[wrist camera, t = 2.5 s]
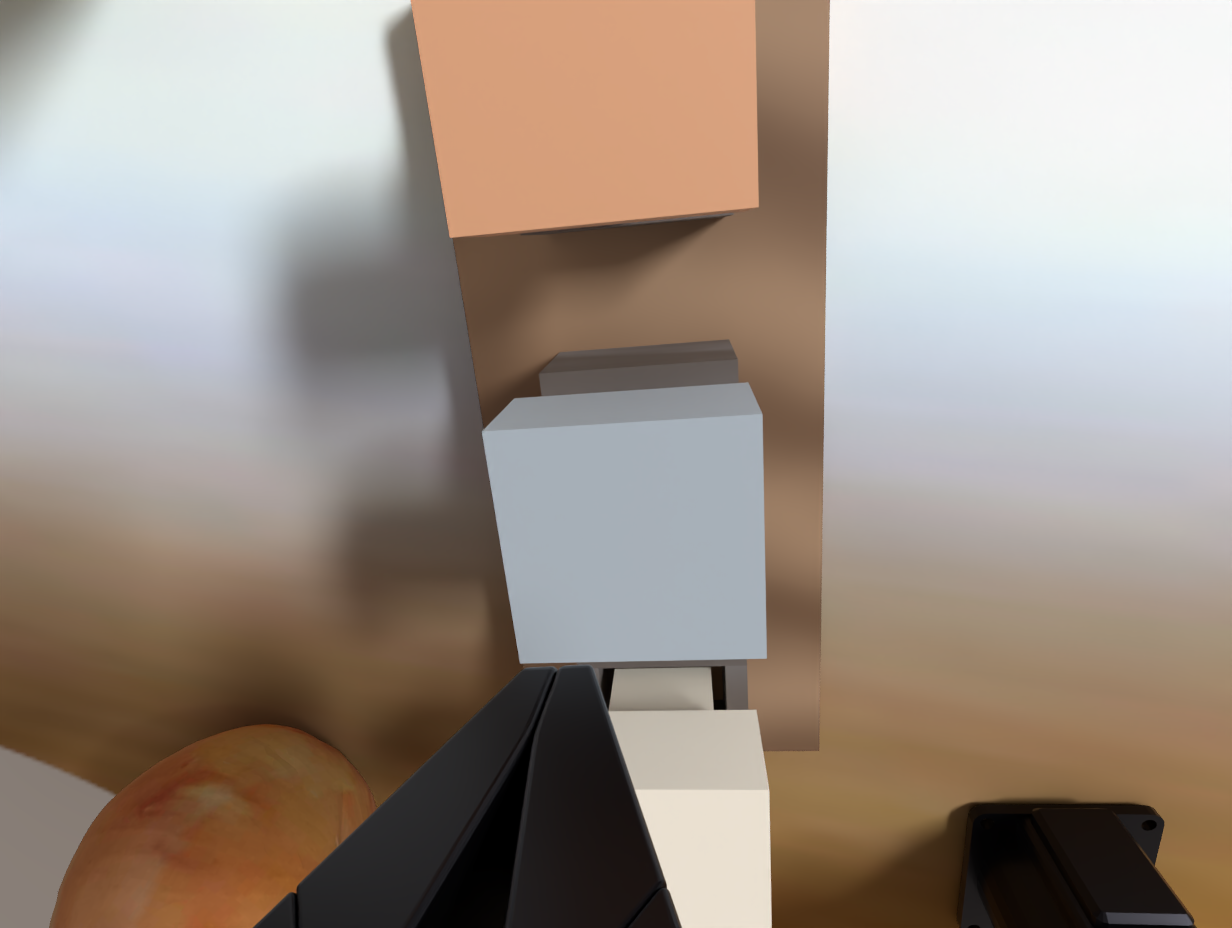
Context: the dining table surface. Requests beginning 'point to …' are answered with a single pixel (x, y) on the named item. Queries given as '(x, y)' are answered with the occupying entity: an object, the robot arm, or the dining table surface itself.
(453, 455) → the dining table surface
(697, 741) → the cream button
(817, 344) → the walnut button board
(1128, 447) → the dining table surface
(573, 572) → the slate button
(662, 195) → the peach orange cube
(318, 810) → the onion
